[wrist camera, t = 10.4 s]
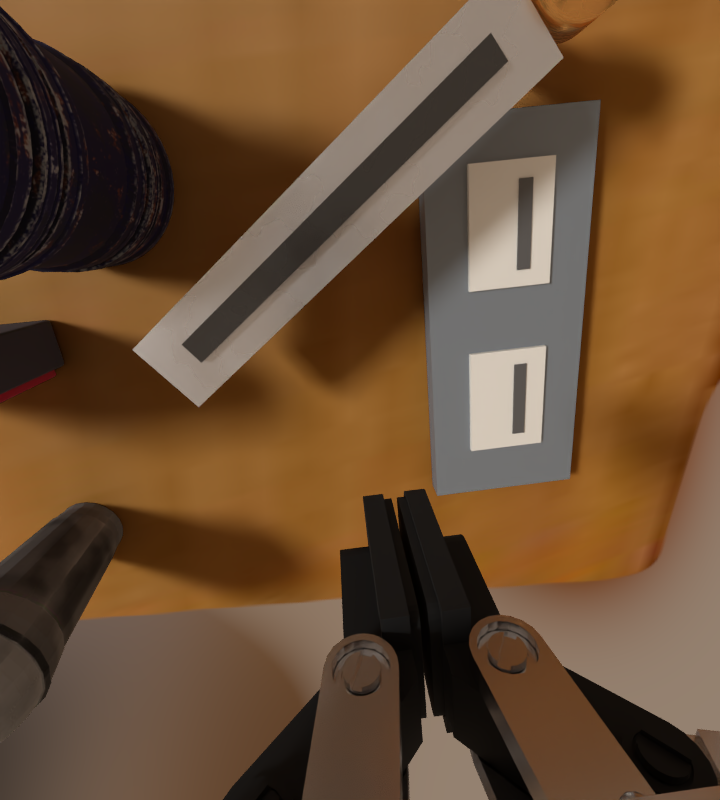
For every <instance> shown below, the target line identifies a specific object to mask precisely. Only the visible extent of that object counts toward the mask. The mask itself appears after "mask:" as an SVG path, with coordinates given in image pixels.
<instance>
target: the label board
mask: <svg viewBox="0 0 720 800" xmlns="http://www.w3.org/2000/svg"><path fill="white" fill-rule="evenodd" d="M600 103H601V100H592V101H582V102H572V103H562V104H552V105H542V106H532V107H522V108H512V109H510V110H509V111H507V112H506V113H505V114H504V115H503V116H502V117H501V118H500V119H499V120H498V121H497V122H496V123H495V124H494V125H493V126H492V127H491V128H490V129H489V130H488V131H487V132H486V133H485V134H483V135H482V136H481V137H480V138H479V139H478V140H477V141H476V142H475V143H474V144H473V145H472V146H471V147H470V148H469V149H468V150H467V151H466V152H465V153H464V154H463V155H462V156H461V157H459V158H458V159H457V160H456V161H455V162H454V163H453V164H452V165H451V166H450V167H449V168H448V169H447V170H446V171H445V172H444V173H443V174H442V175H441V176H440V177H439V178H438V179H436V180H435V181H434V182H433V183H432V184H431V185H430V186H429V187H428V188H427V189H426V190H425V191H424V192H423V193H422V194H421V195H420V196H419V209H420V230H421V251H422V271H423V292H424V313H425V334H426V355H427V376H428V396H429V417H430V438H431V459H432V480H433V487H434V489H435V491H436V494H437V496H439V495H446V494H454V493H462V492H470V491H478V490H486V489H493V488H501V487H509V486H517V485H525V484H533V483H540V482H548V481H556V480H564V479H570V470H571V458H572V446H573V433H574V421H575V409H576V397H577V384H578V372H579V360H580V348H581V335H582V323H583V311H584V299H585V287H586V274H587V262H588V250H589V238H590V225H591V213H592V201H593V189H594V176H595V164H596V152H597V140H598V127H599V115H600Z"/></svg>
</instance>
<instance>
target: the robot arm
mask: <svg viewBox="0 0 720 800" xmlns="http://www.w3.org/2000/svg"><path fill="white" fill-rule="evenodd" d="M363 502H364V511H365V520H366V528H367V537H368V547H360V548H353V549H345V550H340V561H341V584H342V605H343V606H342V608H343V630H344V631H343V632H344V639H342V640H341V641H340V642H339V643H337V644H336V645H335V646H334V647H333V648H332V650H331V651H330V653H329V654H328V656H327V658H326V662H325V664H324V668H323V674H322V681H321V687H320V690H319V691H318V692H317V693H316V694H315V695H314V696H313V698H312V699H311V700H310V701H309V702H308V703H307V704H306V705H305V706H304V707H303V709H302V710H301V711H300V712H299V713H298V714H297V715H296V716H295V717H294V719H293V720H292V721H291V722H290V723H289V724H288V725H287V726H286V727H285V729H284V730H283V731H282V732H281V733H280V734H279V735H278V736H277V738H276V739H275V740H274V741H273V742H272V743H271V744H270V745H269V746H268V748H267V749H266V750H265V751H264V752H263V753H262V754H261V755H260V756H259V758H258V759H257V760H256V761H255V762H254V763H253V764H252V766H250V768H249V769H248V770H247V771H246V772H245V773H244V774H243V775H242V776H241V778H240V779H239V780H238V781H237V782H236V783H235V784H234V785H233V786H232V788H231V789H230V791H229V792H228V794H227V795H226V796H225V798H224V799H223V800H410V799H409V798H410V797H409V769H408V764H409V763H410V761H411V759H412V758H413V756H414V755H415V753H416V752H417V750H418V748H419V747H420V745H421V744H422V742H423V739H422V725H421V718H426V700H425V685H424V676H425V680H426V685H427V689H428V694H429V698H430V702H431V707H432V711H433V715H434V716H441V715H443V719H444V723H445V727H446V731H447V733H450V732H453V736H454V738H456V739H457V740H459V741H460V742H461V743H462V744H464V745H465V746H466V747H468V748H469V749H470V752H471V756H472V759H473V763H474V766H475V768H476V770H477V773H478V775H479V777H480V780H481V782H482V785H483V787H484V790H485V792H486V794H487V797H488V799H489V800H720V731H710V730H700V729H697V732H696V735H687V734H685V733H684V732H682V731H681V730H679V729H678V728H676V727H675V726H673V725H672V724H670V723H669V722H667V721H665V720H663V719H661V718H659V717H657V716H655V715H654V714H652V713H650V712H648V711H646V710H644V709H642V708H640V707H639V706H637V705H635V704H633V703H631V702H629V701H627V700H625V699H624V698H622V697H620V696H618V695H616V694H614V693H612V692H611V691H609V690H607V689H605V688H603V687H601V686H599V685H597V684H595V683H594V682H592V681H590V680H588V679H586V678H584V677H582V676H580V675H579V674H577V673H575V672H573V671H571V670H569V669H567V668H565V667H564V666H562V664H561V663H560V662H559V660H558V659H557V657H556V656H555V655H554V653H553V652H552V651H551V649H550V648H549V647H548V645H547V644H546V642H545V641H544V640H543V638H542V637H541V636H540V634H539V633H538V632H537V631H536V630H535V629H534V628H533V627H532V626H530V625H529V624H527V623H525V622H524V621H522V620H520V619H517V618H514V617H511V616H505V615H500V614H499V611H498V609H497V607H496V605H495V603H494V601H493V598H492V596H491V594H490V592H489V590H488V588H487V585H486V583H485V581H484V579H483V577H482V575H481V572H480V570H479V568H478V566H477V564H476V562H475V559H474V557H473V555H472V553H471V551H470V549H469V546H468V544H467V542H466V540H465V538H464V536H463V535H461V534H460V535H452V536H445V537H443V535H442V532H441V530H440V527H439V525H438V522H437V519H436V517H435V514H434V512H433V509H432V507H431V504H430V502H429V499H428V496H427V494H426V491H425V489H418V490H410V491H404V497H398V498H397V506H398V518H399V528H398V523H397V519H396V515H395V511H394V507H393V503H392V500H391V498H390V499H384V497H383V494H379V495H371V496H363ZM399 531H400V532H399Z"/></svg>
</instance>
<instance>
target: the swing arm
mask: <svg viewBox="0 0 720 800" xmlns="http://www.w3.org/2000/svg"><path fill="white" fill-rule="evenodd" d="M616 1H617V0H469V1H468V2H467V3H466V4H465V5H464V6H463V7H462V8H461V9H460V10H459V11H458V12H457V13H456V14H455V15H454V16H453V17H452V18H451V20H450V21H449V22H448V23H447V24H446V25H445V26H444V27H443V28H442V29H441V30H440V31H439V32H438V33H437V34H436V35H435V36H434V37H433V38H432V39H431V40H430V41H429V42H428V43H427V44H426V45H425V47H424V48H423V49H422V50H421V51H420V52H419V53H418V54H417V55H416V56H415V57H414V58H413V59H412V60H411V61H410V62H409V63H408V64H407V65H406V66H405V67H404V68H403V69H402V70H401V71H400V72H399V73H398V75H397V76H396V77H395V78H394V79H393V80H392V81H391V82H390V83H389V84H388V85H387V86H386V87H385V88H384V89H383V90H382V91H381V92H380V93H379V94H378V95H377V96H376V97H375V98H374V99H373V100H372V102H371V103H370V104H369V105H368V106H367V107H366V108H365V109H364V110H363V111H362V112H361V113H360V114H359V115H358V116H357V117H356V118H355V119H354V120H353V121H352V122H351V123H350V124H349V125H348V126H347V127H346V129H345V130H344V131H343V132H342V133H341V134H340V135H339V136H338V137H337V138H336V139H335V140H334V141H333V142H332V143H331V144H330V145H329V146H328V147H327V148H326V149H325V150H324V151H323V152H322V153H321V154H320V155H319V157H318V158H317V159H316V160H315V161H314V162H313V163H312V164H311V165H310V166H309V167H308V168H307V169H306V170H305V171H304V172H303V173H302V174H301V175H300V176H299V177H298V178H297V179H296V180H295V181H294V182H293V184H292V185H291V186H290V187H289V188H288V189H287V190H286V191H285V192H284V193H283V194H282V195H281V196H280V197H279V198H278V199H277V200H276V201H275V202H274V203H273V204H272V205H271V206H270V207H269V208H268V209H267V210H266V212H265V213H264V214H263V215H262V216H261V217H260V218H259V219H258V220H257V221H256V222H255V223H254V224H253V225H252V226H251V227H250V228H249V229H248V230H247V231H246V232H245V233H244V234H243V235H242V236H241V237H240V239H239V240H238V241H237V242H236V243H235V244H234V245H233V246H232V247H231V248H230V249H229V250H228V251H227V252H226V253H225V254H224V255H223V256H222V257H221V258H220V259H219V260H218V261H217V262H216V263H215V264H214V266H213V267H212V268H211V269H210V270H209V271H208V272H207V273H206V274H205V275H204V276H203V277H202V278H201V279H200V280H199V281H198V282H197V283H196V284H195V285H194V286H193V287H192V288H191V289H190V290H189V291H188V292H187V294H186V295H185V296H184V297H183V298H182V299H181V300H180V301H179V302H178V303H177V304H176V305H175V306H174V307H173V308H172V309H171V310H170V311H169V312H168V313H167V314H166V315H165V316H164V317H163V318H162V319H161V321H160V322H159V323H158V324H157V325H156V326H155V327H154V328H153V329H152V330H151V331H150V332H149V333H148V334H147V335H146V336H145V337H144V338H143V339H142V340H141V341H140V342H139V343H138V344H137V345H136V346H135V348H134V349H133V351H134V352H135V353H136V354H138V355H139V356H140V357H141V358H142V359H143V360H145V361H146V362H147V363H148V364H149V365H150V366H151V367H153V368H154V369H155V370H156V371H157V372H158V373H160V374H161V375H162V376H163V377H164V378H165V379H167V380H168V381H169V382H170V383H171V384H172V385H173V386H175V387H176V388H177V389H178V390H179V391H180V392H182V393H183V394H184V395H185V396H186V397H187V398H189V399H190V400H191V401H192V402H193V403H194V404H195V405H197V406H198V407H199V406H201V405H202V404H203V403H204V402H205V401H206V400H207V399H208V398H209V397H210V396H211V395H212V394H213V393H214V392H215V391H216V390H217V389H218V388H219V387H220V386H221V385H222V384H223V383H225V382H226V381H227V380H228V379H229V378H230V377H231V376H232V375H233V374H234V373H235V372H236V371H237V370H238V369H239V368H240V367H241V366H242V365H243V364H244V363H245V362H246V361H248V360H249V359H250V358H251V357H252V356H253V355H254V354H255V353H256V352H257V351H258V350H259V349H260V348H261V347H262V346H263V345H264V344H265V343H266V342H267V341H268V340H269V339H270V338H272V337H273V336H274V335H275V334H276V333H277V332H278V331H279V330H280V329H281V328H282V327H283V326H284V325H285V324H286V323H287V322H288V321H289V320H290V319H291V318H292V317H293V316H294V315H296V314H297V313H298V312H299V311H300V310H301V309H302V308H303V307H304V306H305V305H306V304H307V303H308V302H309V301H310V300H311V299H312V298H313V297H314V296H315V295H316V294H317V293H319V292H320V291H321V290H322V289H323V288H324V287H325V286H326V285H327V284H328V283H329V282H330V281H331V280H332V279H333V278H334V277H335V276H336V275H337V274H338V273H339V272H340V271H341V270H343V269H344V268H345V267H346V266H347V265H348V264H349V263H350V262H351V261H352V260H353V259H354V258H355V257H356V256H357V255H358V254H359V253H360V252H361V251H362V250H363V249H364V248H365V247H367V246H368V245H369V244H370V243H371V242H372V241H373V240H374V239H375V238H376V237H377V236H378V235H379V234H380V233H381V232H382V231H383V230H384V229H385V228H386V227H387V226H388V225H390V224H391V223H392V222H393V221H394V220H395V219H396V218H397V217H398V216H399V215H400V214H401V213H402V212H403V211H404V210H405V209H406V208H407V207H408V206H409V205H410V204H411V203H412V202H414V201H415V200H416V199H417V198H418V197H419V196H420V195H421V194H422V193H423V192H424V191H425V190H426V189H427V188H428V187H429V186H430V185H431V184H432V183H433V182H434V181H435V180H436V179H438V178H439V177H440V176H441V175H442V174H443V173H444V172H445V171H446V170H447V169H448V168H449V167H450V166H451V165H452V164H453V163H454V162H455V161H456V160H457V159H458V158H459V157H461V156H462V155H463V154H464V153H465V152H466V151H467V150H468V149H469V148H470V147H471V146H472V145H473V144H474V143H475V142H476V141H477V140H478V139H479V138H480V137H481V136H482V135H483V134H485V133H486V132H487V131H488V130H489V129H490V128H491V127H492V126H493V125H494V124H495V123H496V122H497V121H498V120H499V119H500V118H501V117H502V116H503V115H504V114H505V113H506V112H507V111H509V110H510V109H511V108H512V107H513V106H514V105H515V104H516V103H517V102H518V101H519V100H520V99H521V98H522V97H523V96H524V95H525V94H526V93H527V92H528V91H529V90H530V89H531V88H533V87H534V86H535V85H536V84H537V83H538V82H539V81H540V80H541V79H542V78H543V77H544V76H545V75H546V74H547V73H548V72H549V71H550V70H551V69H552V68H553V67H554V66H556V65H557V64H558V63H559V62H560V61H561V60H562V59H563V58H564V57H563V56H562V54H561V52H560V50H559V49H558V47H557V45H556V44H558V43H563V42H566V41H568V40H570V39H572V38H573V37H575V36H576V35H577V34H578V33H580V32H581V31H582V30H583V29H584V28H586V27H587V26H588V25H589V24H590V23H592V22H593V21H594V20H595V19H596V18H598V17H599V16H600V15H601V14H602V13H603V12H605V11H606V10H607V9H608V8H609V7H611V6H612V5H613V4H614V3H615V2H616Z"/></svg>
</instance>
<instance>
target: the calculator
mask: <svg viewBox="0 0 720 800" xmlns="http://www.w3.org/2000/svg"><path fill="white" fill-rule="evenodd" d="M63 365H64V361H63V358H62V355H61V352H60V349H59V346H58V343H57V340H56V337H55V334H54V331H53V328H52V326H51V323H50V321H48V320H43V321H33V322H22V323H12V324H2V325H0V403H2V402H4V401H6V400H8V399H10V398H12V397H14V396H16V395H18V394H20V393H22V392H24V391H26V390H28V389H30V388H32V387H35V386H37V385H39V384H41V383H43V382H45V381H47V380H49V379H51V378H53V377H55V376H56V373H55V369H57V368H59V367H61V366H63Z"/></svg>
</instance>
